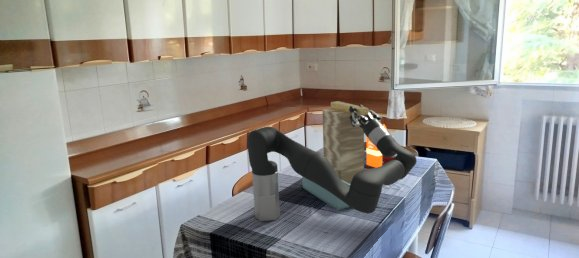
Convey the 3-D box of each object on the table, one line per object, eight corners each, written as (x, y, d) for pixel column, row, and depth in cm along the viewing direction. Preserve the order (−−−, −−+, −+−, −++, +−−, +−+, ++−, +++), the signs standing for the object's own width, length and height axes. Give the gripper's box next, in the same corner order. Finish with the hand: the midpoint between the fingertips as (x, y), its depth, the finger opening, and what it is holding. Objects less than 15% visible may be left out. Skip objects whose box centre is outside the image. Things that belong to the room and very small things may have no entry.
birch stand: (364, 182, 182) (364, 111, 175) (341, 188, 177) (340, 114, 170) (346, 173, 195) (345, 106, 187) (324, 178, 190) (322, 109, 182)
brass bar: (368, 115, 166) (368, 108, 165) (360, 116, 164) (360, 109, 164) (338, 107, 185) (338, 101, 185) (330, 108, 184) (330, 102, 183)
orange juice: (390, 164, 205) (390, 125, 200) (377, 168, 200) (377, 128, 196) (378, 160, 211) (378, 122, 207) (366, 164, 207) (366, 125, 202)
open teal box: (360, 204, 160) (360, 189, 159) (337, 210, 155) (337, 195, 154) (323, 182, 184) (323, 170, 183) (302, 187, 180) (302, 174, 178)
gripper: (395, 124, 160) (371, 97, 171) (365, 129, 154) (342, 101, 165) (389, 138, 164) (366, 111, 176) (359, 144, 158) (337, 115, 170)
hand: (355, 106), depth 170 cm, fingers closed on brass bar, 4 cm apart
